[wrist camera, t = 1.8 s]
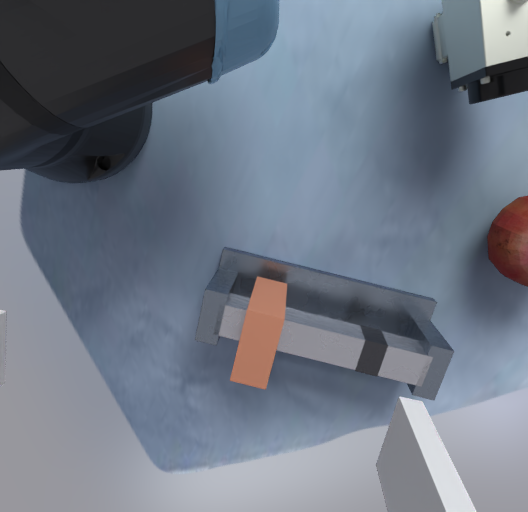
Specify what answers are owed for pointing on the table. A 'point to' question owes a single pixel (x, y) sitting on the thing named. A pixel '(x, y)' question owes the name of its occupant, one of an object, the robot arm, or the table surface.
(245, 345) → the terracotta rectangular block
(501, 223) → the fruit
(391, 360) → the grey rail frame
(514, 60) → the pneumatic valve
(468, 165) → the table surface
